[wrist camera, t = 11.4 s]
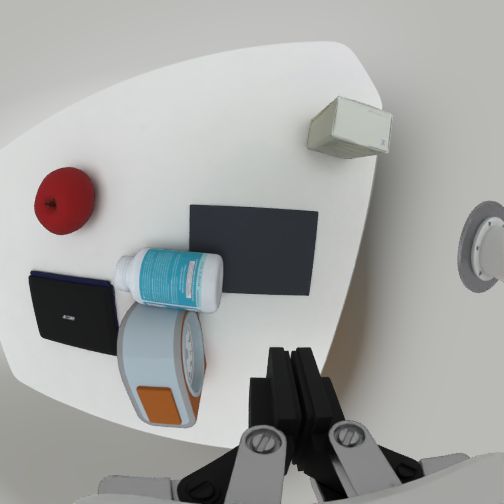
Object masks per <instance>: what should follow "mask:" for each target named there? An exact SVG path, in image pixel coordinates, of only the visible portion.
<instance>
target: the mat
mask: <svg viewBox="0 0 504 504" xmlns="http://www.w3.org/2000/svg"><path fill="white" fill-rule="evenodd" d="M317 221H318V212H314V211H301V210H287V209H272V208H254V207H234V206H210V205H190V238H189V252H198V253H209V254H217V255H220V256H221V258H222V260H223V284H222V292H224V293H244V294H269V295H305V296H309V291H310V284H311V276H312V268H313V259H314V250H315V241H316V231H317Z"/></svg>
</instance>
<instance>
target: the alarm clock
mask: <svg viewBox="0 0 504 504" xmlns="http://www.w3.org/2000/svg"><path fill="white" fill-rule="evenodd" d="M117 359H118V366H119V371H120V375H121V378H122V381H123V383H124V386H125V388H126V391H127V393H128V395H129V398H130V400H131V402H132V404H133V407H134V409H135V411H136V413H137V415H138V417H139V418H140V419H141V420H142V421H143V422H145V423H147V424H149V425H153V426H162V427H175V428H189V427H192V426H193V425H194V424H195V423H196V420H197V415H198V409H199V403H200V398H201V392H202V387H203V381H204V375H205V370H206V360H205V355H204V348H203V339H202V332H201V327H200V323H199V319H198V315H197V312H195V311H187V310H180V309H172V308H165V307H158V306H151V305H145V304H140V303H138V302H137V301H135V303H134V304H133V305H132V306H131V308H130V309H129V310H128V311H127V312H126V314H125V316H124V317H123V319H122V322H121V325H120V328H119V332H118V339H117Z"/></svg>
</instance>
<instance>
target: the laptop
mask: <svg viewBox="0 0 504 504" xmlns="http://www.w3.org/2000/svg"><path fill="white" fill-rule="evenodd" d="M30 274H31V275H30V276H29V286H30V292H31V297H32V302H33V307H34V312H35V316H36V321H37V325H38V329H39V333H40V335H41V337H43V338H45V339H49V340H52V341H55V342H59V343H63V344H66V345H70V346H74V347H78V348H82V349H86V350H90V351H95V352H99V353H104V354H109V355H113V356H117V339H118V332H119V330H118V324H117V317H116V309H115V296H114V290H113V286H112V285H110V282H109V281H101V280H93V279H85V278H78V277H70V276H63V275H56V274H49V273H43V272H36V271H31V272H30Z"/></svg>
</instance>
